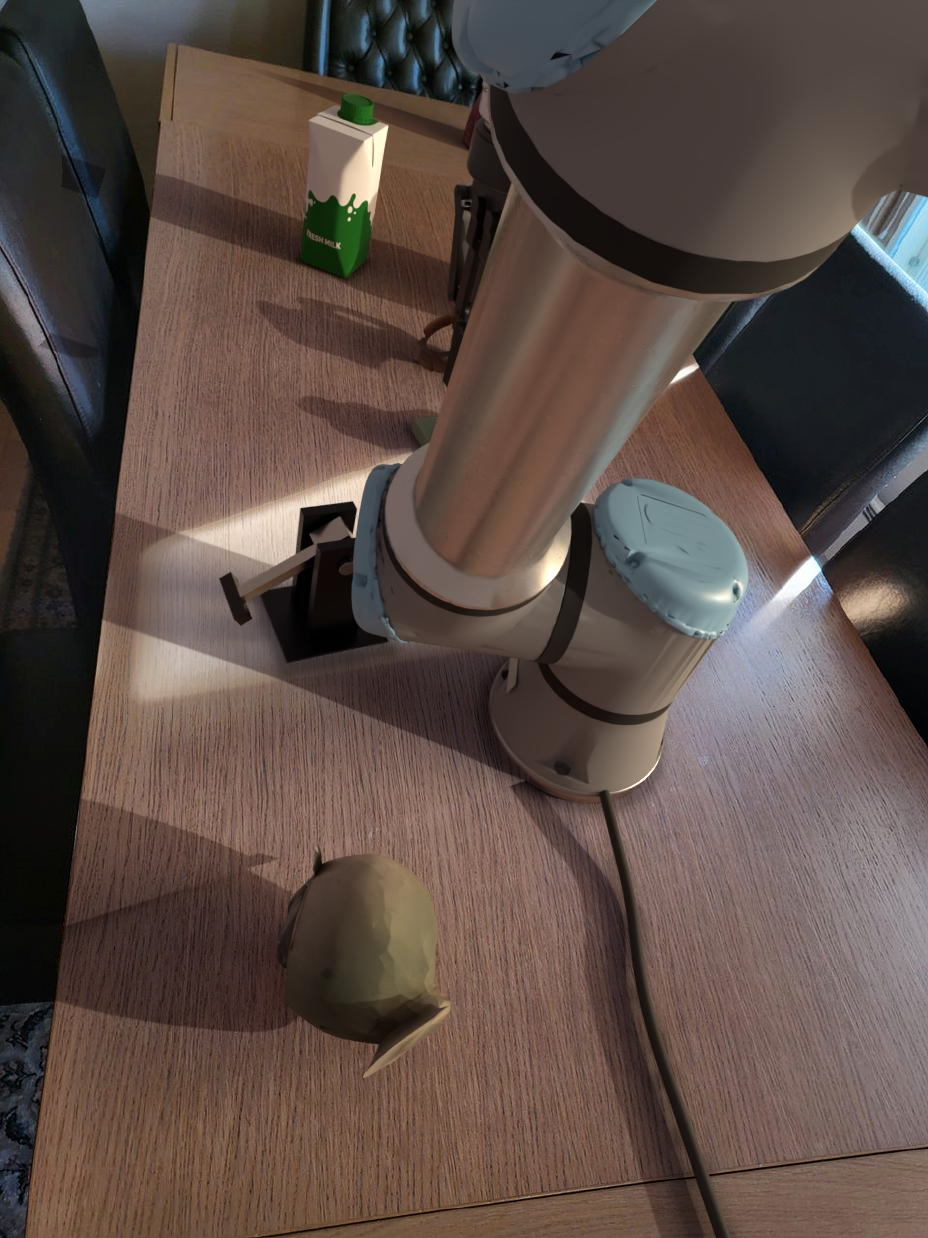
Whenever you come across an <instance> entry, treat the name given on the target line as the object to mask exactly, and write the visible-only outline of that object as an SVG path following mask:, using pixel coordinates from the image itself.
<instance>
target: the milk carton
mask: <svg viewBox="0 0 928 1238" xmlns="http://www.w3.org/2000/svg"><path fill="white" fill-rule="evenodd" d="M374 105H375V104H374V101H373V100H371V99H370V98H369V97H366V96H364V95H360V94H356V93H344V94H342V96H341V102H340V106H339V105H336V104H335V105H332V106H331V107H329V108H327V109H325V110H323V111H320V112H317V113H316V116H314V117H312V118H310V119H308V140H309V141H308V142H309V143H308V145H309V146H308V147H309V151H308V152H309V154H308V160H307V161H308V162H307V176H306V187H305V199H304V211H303V224H302V233H301V244H300V245H301V247H300V257H299V262H301V263H304V264H306V265H310V266H312V267H314V268H317V269H319V270H322V271H323V272H324V271H325V272H327V273H329V274H332V275H334V276H337V277H340V278H343V279H345V280H346V279H348V278H349V277H350V276H351V275H352V274H353V273H355V271H357V270H358V269H359V268H360V267H361V266H362V265H363V264H364V263H365V262H366V261H367V257H368V253H369V249H370V244H371V239H372V233H373V228H374V222H375V221H374V220H375V213H376V207H377V202H378V201H377V200H378V195H379V187H380V179H381V172H382V167H383V159H384V155H385V154H384V153H385V148H386V143H387V142H386V141H387V136H388V130H389V125H388V124H387V123H384V122H380V120H378V119H375V118H373V114H374V108H375V106H374Z"/></svg>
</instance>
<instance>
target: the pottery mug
mask: <svg viewBox="0 0 928 1238" xmlns="http://www.w3.org/2000/svg"><path fill="white" fill-rule="evenodd" d="M455 322H456V318H455V315H454V312H453V313H447V314H443V315H441V316H438V317H437V318H435V319H433V320H431V321H430V322H429V323H428V324H427V325H426V326H425V327H424V329H423V330H422V332H423V334H424V336H422V337H421V338H420V339H419V340H418V346H419V350H418V354H417V355H418V356H417V362H418V364H419V365H420V366H421V367H423V368H424V369H425V370H427V371H428V372H430V373H431V372H435V373H440V374H442V373H444V372H445V368H446V364H447V360H448V355H449V351H450V350H446V351H436V350H435V351H434V350H433V349H431V348H429V347H428V345H427V343H428V341H429V339H431V337H432V336H433V335H434V334H435V333H437V332H438V331H440V330H441V329H443V328H446V327H449V326H451V328H452V329H451V330H454V326H455Z"/></svg>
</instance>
